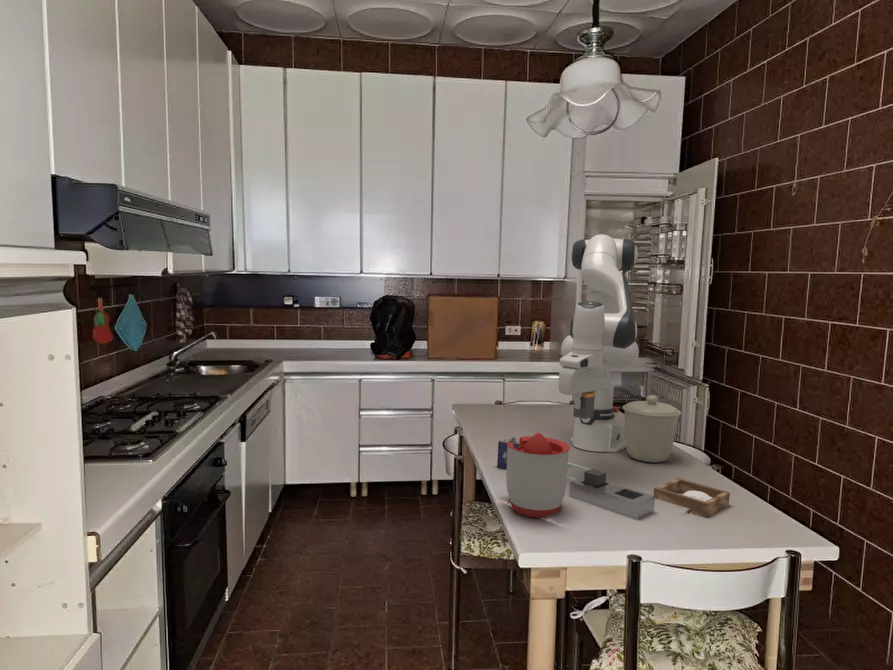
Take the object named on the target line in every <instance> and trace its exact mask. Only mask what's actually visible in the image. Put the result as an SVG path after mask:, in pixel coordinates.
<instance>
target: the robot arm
mask: <svg viewBox="0 0 893 670" xmlns="http://www.w3.org/2000/svg"><path fill="white" fill-rule="evenodd" d="M569 256H570V260H571V263H572V266H573V267H574V268H575V269H576V270H580V272H581V273H580V274H581V279H582V280H583V282H584V284H585V285H587V291H586V300H584V301H580V302H577V304H576V306H575V311H574V315H573V317H572V318H571V320H570V328H569V329H570V330H569V335H567V336H566V337H564V339H563V341H562V343H561V347H560V353H561V357H560V359H559V366H561V367H560V370H559V372H558V373H559V374H558V390H559V393H560V394H561V395H565V396H572V399H573V409H574V408H576V409H581V408H582V407H583V406H582V405H583V402H581V400H580V397H581V393H586V392H592V393H595V400H594V416H593V417H592V418H588V419H583V418H579V417H576V418H575V420H574V427H573V434H572V436H571V437H570V440H569V441H570V442H572V446H573V447H575V448H577V449H581V450H584V451H589V452H600V453H601V452H602V453H604V452H606V453H619V452H621V451H622V450H624V449H625V448H627V447H626V432H625V427H624V425H622V424H621V423H620V422H619V421H618V420H617V419H616V415H615V413H616V414H618V413H619V411H620V408H619V407H618V406H614V405H613V403H614V391H615V390H614V385H613V383H612V382H611V369H610V368H613V369H622V368H631V367H633V366H634V365H635V364H636V362H637V361H638V358H639V355H640V354H639V353H640V350H639V349H640V348H639V346H638V344H637V342H636V340H637V336H638V326H637V321H636V318H635V315H634V311H633V303H632V297H631V291H630V284H629V281H628V278H627V276H626V273H627V272H629V271H631V270H632V269H633V268H634V267H635V265H636V263H637V262H638V257H639V250H638V247H637V245H636V242H635V241H634V240H632V239H629V238H622V239H621V238H614V237H612V236H609V235H607V234H603V233H601V234H596V235H594V236H592V237H591V238H590V239H585V238H583V239H579V240H576V241H575V242H574V243H573V245H572V247H571V250H570V255H569ZM621 271H622V272H621Z"/></svg>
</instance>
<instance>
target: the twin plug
mask: <svg viewBox="0 0 893 670" xmlns="http://www.w3.org/2000/svg"><path fill="white" fill-rule="evenodd" d="M590 469H591V470H588V471H583V472H584V475H583V476H584V484H586V485H589V486H592V487H595V488H600V487H602V486H605V484H606V481H607V480H606V479H607V471H602V470H599V469H596V468H590Z"/></svg>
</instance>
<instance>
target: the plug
mask: <svg viewBox="0 0 893 670" xmlns="http://www.w3.org/2000/svg"><path fill="white" fill-rule="evenodd" d="M580 400H581V402H583V405H582V406H583V407H582V408H581V409H576V408H574V407H573V415H572V416H573V417H574V418H578V417H579V418H583V419H588V418H592V417H593V416H594V400H595V393H592V392H586V393H581V397H580Z"/></svg>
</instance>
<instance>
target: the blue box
mask: <svg viewBox="0 0 893 670" xmlns="http://www.w3.org/2000/svg"><path fill="white" fill-rule="evenodd" d="M507 442H510V443H512V444H513V447H514V448H518V447H519V441H517V435H516V436H515V435H511V438H510V439H507V438H504V439H499V440H498V443H497V462H496V468H497V469H500V470H506V471H507V461H506V460H507V458H503V454H504V453H507Z"/></svg>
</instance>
